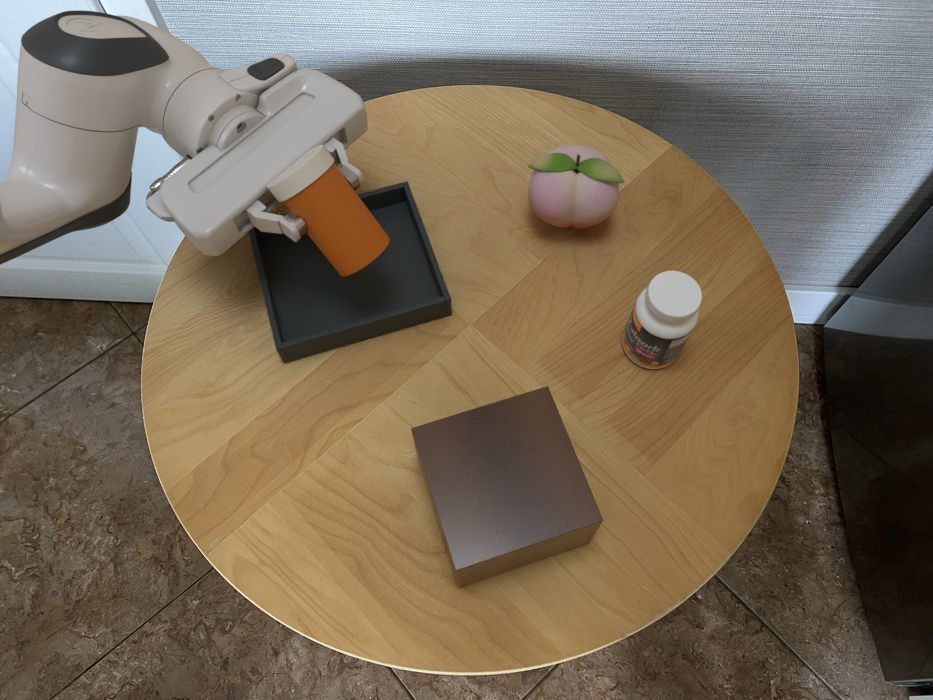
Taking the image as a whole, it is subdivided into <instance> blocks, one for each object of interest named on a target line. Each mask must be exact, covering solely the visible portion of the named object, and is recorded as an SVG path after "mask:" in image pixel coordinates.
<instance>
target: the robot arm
mask: <svg viewBox="0 0 933 700" xmlns="http://www.w3.org/2000/svg"><path fill="white" fill-rule="evenodd" d="M17 66H18V67H17V81H16V82H17V85H16V104H15V118H14V130H13V131H14V132H13V146H12V154H11V161H10V166H9V169H8V172H7V175H6V177H5V180H4V181H2V182H0V266H1V265H3V264H5V263H7V262H10V261H12V260H14V259H16V258H19V257H20V256H22V255H24V254H27V253H29V252H31V251H33V250H35V249H38V248H40V247H42V246H44V245H46V244H48V243H50V242H52V241H55V240H57V239H59V238H61V237H64V236H66V235H68V234H71V233H73V232H79V231H86V230H91V229H96V228H99V227H103V226H104V225H107V224H109V223H111V222H113V221H114V220H117V219H118V218H119V217H121V216H122V215H123V214H124V213H126V212H127V210H128V208H129V207H130V205H131V204H130V203H131V194H132V182H133V181H132V179H133V172H132V169H133V163H134V157H135V151H136V145H137V138H138V134H139V128H144V129H146V130H148V131H150V132H152V133H154V134H158V135H161V137H162V138H163V140H164V141H165V143H166V145H168V146H169V147H170V148H171V149H172V150H173V151H175V152H176V153H177V154H178V155H180V157H182V158H183V159H181V160H180V161H178V162H177V163H176V164H175V165H174V166H172V167H171V168H170V169H169V170H168V171H167V173H165V174H163V175H162V176H159V177H158V178H157V179H155V180H154V181H153V182H152V183H151V184H150V185H149V192H148V193H147V195H146V197H145V205H146V208H147V209H148V210H149V211H150V212H151V213H152V214H153V215H155V216H156V217H157V218H158V219H159V220H161V221H164V222H167V223H174V224H175V225H176V226H177V228H178V229H179V231H180V232H181V233H182V234H183V235H184V236H185V237H186V239H187V240H188V241H189V242H190V243H191V244H192V245H193V247H195V248H196V249H197V250H198V251H199V252H200V253H202V254H203V255H205V256H210V257H211V256H212V257H214V256H215V257H219V256H221V255H223V254H224V253H225V252H226V251H228V250H229V249H230V248H231V247H233V245H235V244H236V243H237V242H238V241H239V240H240V239H242V238H243V237H244V236H245V235H246V234H247V233H248V232H249V231H250V230H251V229H252V228H253V227H254V226H255V227H256V228H257V229H259V230H260V231H261V232H270V233H279V234H283V233H284V234H285V235H287V236H288V237H289V238H291V239H292V240H293V241H295V242H297V241H298V240H299V239H300V238H301V237H303V236H304V235H305V234H306V233H307V232H308V229H307V228H306V227H307V224H306V223H305V221H304V220H303V219H302V218H300V217H297V215H296V214H294V213H293V212H291V211H290V212H289V211H288V212H286V213H287V214H286V215H285V216H282V215H281V214H277V213H273V212H274V211H275V210H276V209H277V208H278V207H280V206H281V205H282V204H283V203H282V202H278V200H277V199H276V198H275V197H274V195H273V194H272V193H271V192H270V190H269V189H268V188H267V185H268V184H269V183H270V182H271V181H273V180H274V179H275V178H276V177H277V176H279V175H280V174H281V173H282V172H283V171H285V170H286V169H287V168H288V167H290V166H291V165H292V164H293V163H294V162H296V161H297V160H298V159H299V158H300V157H302V156H303V155H304V154H305V153H306V152H308V151H309V150H311V149H312V148H314V147H316V146H318V145H322V144H323V145H324V146H325V148H326V149H327V150H328V152H329V153H330V154H331V156H332V157H333V159H334V164H335V165H336V166H337V167H338V166H340V168H338V169H339V171H340V172H341V173H342V175H343V176H344V177H345V179H346V180H347V181H348V183H349V184H350V185H351V187H352V188H353V189H354V191H355V192H356V190H357V189H358V190H359V188H360V187H361V186H362V185H364V183H365V178H364V175H363V173H362V171H361V170H360V169H358V168H357V167H356V166H354V165H353V163H350V160H349V157H348V155H347V153H346V150H347V149H348V148H349V147H351V145H353V144H354V143H355V142H356V141H357V140H359V139H360V138H361V137H362V136H363V135H365V134H366V132H368V129H369V125H368V115H367V110H366V104H365V102H364V100H363V98H362V97H361V96H360V95H359V94H358V92H355V90H353V89H351V88H350V87H348V86H346V84H343V83H342V82H340V81H338V80H336V79H335V78H333V77H331V76H329V75H328V74H325V73H323V72H321V71H319V70H316V69H313V68H312V69H311V68H300V69H299V67H298V65H297V63H296V60H295V59H294V58H293V57H292V56H290V55H289V54H287V53H284V52H280V53H276V54H273V55H271V56H268V57H266V58H263V59H261V60H258V61H256V62H252V63H250V64H247V65H243V66H240V67H236V68H232V69H231V68H230V69H228V70H224V69H223V68H220V67H217V66H215V65H210V63H209V62H208V60H207V59H206V58H205V57H204V56H203V54H201V53H200V52H199V51H198V50H196V49H195V48H194V47H192V46H191V45H189V44H188V43H186V42H185V41H183V40H182V39H180V38H178V37H177V36H175V35H173V34H171V33H170V32H168V31H167V30H164V29H163V28H160V27H158V26H156V25H154V24H151V23H149V22H147V21H145V20H142V19H139V18H136V17H134V16H128V15H115V14H110V13H105V12H100V11H94V10H66V11H62V12H59V13H56V14H53V15H50V16H49V17H46V18H44V19H42V20H40V21H39V22H37V23H35V24H33V25H32V26H31V27H30V28H28V29H27V30H26V31H25V32H24V33H23V34H22V36H21V38H20V48H19V57H18V65H17Z"/></svg>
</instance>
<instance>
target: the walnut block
mask: <svg viewBox="0 0 933 700" xmlns="http://www.w3.org/2000/svg"><path fill="white" fill-rule="evenodd" d="M410 432H411V435H412V441H413V444H414V449H415V450H414V451H415V454H416V459H417V462H418V466H419V469H420V472H421V475H422V479H423V481H424V484H425V488H426V491H427V494H428V497H429V501H430V505H431V508H432V511H433V513H434V517H435V520H436V524H437V526H438V527H437V528H438V530H439V533H440V536H441V539H442V542H443V547H444V549H445V552H446V556H447V558H448V562H449V565H450V568H451V571H452V574H453V577H454V581H455V584H456V588H457V589H461V588H463V587H465V586H470V585H472V584H475V583H478V582H481V581H484V580H486V579H489V578H493V577H496V576H499V575H501V574H505V573H507V572H510V571H513V570H516V569H519V568H523V567H525V566H528V565H531V564H534V563H536V562H540V561H542V560H545V559H548V558H551V557H554V556H557V555H560V554H563V553H567V552H569V551H572V550H574V549H577V548H581V547H584V546H586V545H590V543H591V542H592V540H593V539H594V537H595V535H596V534H597V532H598V530H599V529H600V527H601V526H602V524H603V523H604V519H603V516H602V514H601V512H600V508H599V506H598V504H597V501H596V499H595V497H594V494H593V492H592V489H591V486H590V484H589V482H588V479H587V477H586V475H585V472H584V470H583V467H582V465H581V462H580V460H579V458H578V454H577V453H576V450H575V448H574V446H573V443H572V441H571V438H570V436H569V434H568V433H569V432H568V431H567V429H566V426H565V424H564V421H563V418H562V417H561V414H560V411H559V409H558V407H557V404H556V402H555V400H554V397H553V395H552V392H551V390H550V387H549V386H548V385H547V386H542V387H540V388H536V389H533V390H531V391H527V392H524V393H520V394H517V395H514V396H511V397H508V398H504V399H501V400H497V401H495V402H491V403H488V404H485V405H482V406H478V407H475V408H472V409H469V410H466V411H462V412H459V413H456V414H452V415H449V416H446V417H443V418H439V419H436V420H434V421H430V422H427V423H423V424H420V425H417V426H413V427H411V428H410Z"/></svg>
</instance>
